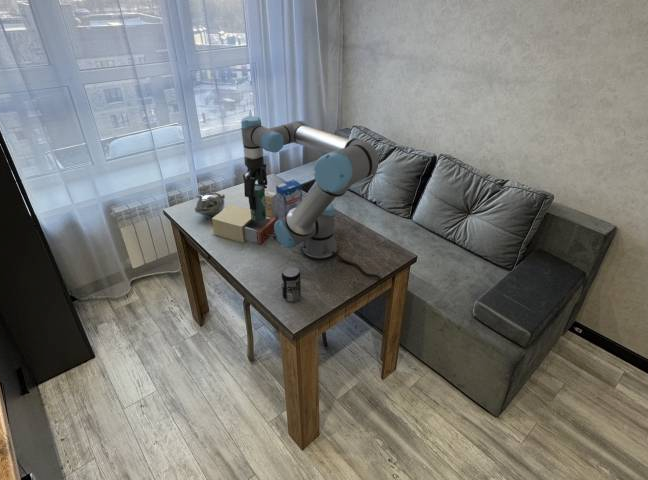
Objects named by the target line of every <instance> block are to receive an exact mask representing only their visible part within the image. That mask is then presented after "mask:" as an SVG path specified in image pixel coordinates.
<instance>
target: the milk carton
mask: <svg viewBox="0 0 648 480" xmlns="http://www.w3.org/2000/svg"><path fill="white" fill-rule="evenodd" d="M275 191H276V192H275V193H277V212H278V216H277V221H278V220H281V219H283V218H284V217H285V216H286V215H287V214H288V212H289V211H290V210H291V209H293V208H297V207H298V205H299V204H300V202H301V201H302V200H303V184H302V183H300V182H298V181H297V180H295V179H291V180H289V181H285V182H283V183H280V184H276V185H275Z"/></svg>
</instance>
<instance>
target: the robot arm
mask: <svg viewBox="0 0 648 480" xmlns="http://www.w3.org/2000/svg"><path fill="white" fill-rule="evenodd" d="M240 123H241V125H240V126H241V129H240V130H241V139H242V145H243V146H242V147H243V156H244V157H243V161H244V165H245V167H246V168H247V171H246V173H245V174H243V175H242V178H243V189H244V197H245V198H248V204H249V209H252V210H256V199H255V196H254V190H255V184H256V182H257V184H261V185H263V186H264V195H265V190H266V189H267V188H268V183H269V182H268V176H267V163H265V162H264V161H265V160H264V151H266V152H270V153H274V154H275V153H278V152H280V151H281V150H282V149H283V148H284V146H286V145H290V144H296V145H297V144H298V145H300V146H303V147H306V148H308V149H311V150H314V151H316V152H319V153H322V154H324V155H322V156H320V157H319V158H318V159H317V161H316V162H315V165H314V169H313V170H314V175H313V176H314V180H315V181H314V183H313V185H312V186H311V187H310V188H309V190H308V192H306V194H305V196H304V197H302V201H301V202H300V204H299V205H298V207H297V208H293V209H291V210H290V211H289V212H288V214H287V215H286V216H285V217H284V218H283V219H281V220H278V219H277V220H276V222H275V224H274V231H275V233H274V235H275V234H276V237H277V238H276V239H277V240H278V242H279V243H280V244H281V245H282V246H283V247H284V248H286V249H292V248H295V247H296V246H298V245H300V244H301V251H302V253H303V255H304V256H305V257H307V258H309V259H312V260H317V261H318V260H320V261H321V260H323V261H324V260H327V259H330V258H332V257H333V256H336V257H337V258H338V259H339V260H340V261H342V262H343V263H346V264H349V265H353V266H354V267H356V268H357V269H359V271H360V272H361V273H362V274H363V275H365V276H367V277H374V278H377V279H378V280H379V281H380V282H382V281H383V278H382V277H381V276H379V274H375V273H373V274H372V273H368V272H366V271H365V270H364V269H363V268H362V267H361V266H360V265H359V264H357V263H356V262H353V261H351V260H347V259H345V258H343V257H342V256H340V254H339V253H337V252H338V245H337V240H336V237H335V235H334V226H335V224H334V223H335V206H334V205H333V204H332V203H333V201H334V200H335V199H336V198H340V197H342V196H344V195H345V194H346V193H347V192H348V191H349V189H350V188H351V187H352V186H353V185H354V184H356V183H359V182H361V181H363V180H365V179H368V178H369V177H371V176H372V175H373V174H374V173H376V171H377V169H378V167H379V164H380V163H379V161H380V159H379V158H380V157H379V154H378V151H377V150H376V148H375V147H374V146H373V145H372V144H371V143H370V142H368V141H365V140H363V139H360V138H356V137H352V138H346V137H344V136H340V135H337V134H334V133H330V132H327V131H324V130H320V129H317V128H313V127H311V126H309V124H308V123H307V122H306V121H305V120H295V121H291V122H289V123H285V124H281V125H278V126H274V127H273V126H272V127H270V128H268V127H265V126H263V125H262V119H261V118H260V117H259V116H254V115H247V116H245V117H243V118H241V120H240Z"/></svg>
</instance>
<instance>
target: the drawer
mask: <svg viewBox="0 0 648 480" xmlns="http://www.w3.org/2000/svg"><path fill="white" fill-rule="evenodd" d="M275 222H277V217H276V218H273V219H272V220H271V219H270V218H268V217H266V219H264V220H263V221H254V220H251V221H250V222H249V223H247V224H246V225H245V226H244V227H243V233H244V239H246V241H248V242H252V243H256V244H258V245H259V246H263V245H264V244H265V243H266V242H267V241H268V240H269V239H270V238H272V239H273V240H276V239H278V238H277V237H276V234H275V231H274V224H275Z"/></svg>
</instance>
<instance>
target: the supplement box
mask: <svg viewBox="0 0 648 480" xmlns="http://www.w3.org/2000/svg"><path fill="white" fill-rule="evenodd" d="M265 209H266V217H268V218H270V221H271V220H272V219H273V218H276V219H277V218H278V212H277V193H276V192H274V191H270V190H267V189H265Z"/></svg>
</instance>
